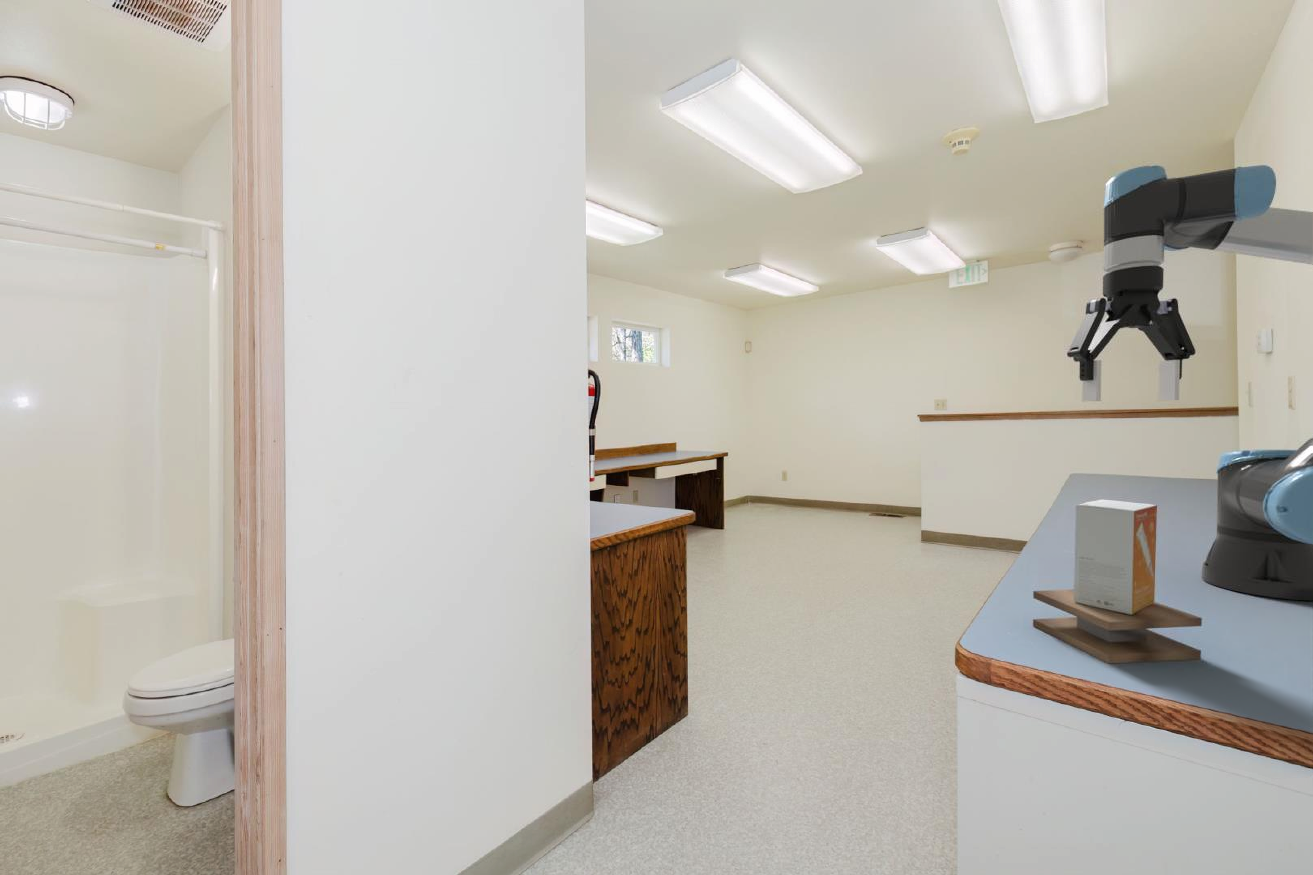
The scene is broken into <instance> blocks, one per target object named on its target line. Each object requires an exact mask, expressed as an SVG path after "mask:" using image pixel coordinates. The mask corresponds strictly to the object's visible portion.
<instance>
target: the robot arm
mask: <svg viewBox="0 0 1313 875" xmlns="http://www.w3.org/2000/svg"><path fill="white" fill-rule="evenodd" d="M1276 190H1277V177H1276V173H1275V171H1274V169H1273V168H1272V167H1271V166H1269V165H1266V164H1261V165H1260V164H1259V165H1250V166H1237V167H1235V168H1229V169H1224V170H1218V171H1211V172H1206V173H1205V172H1204V173H1199V174H1194V175H1193V174H1192V175H1187V176H1182V177H1180V176H1179V177H1170V178H1168V175H1167V174H1166V169H1165V167H1164V166H1162V165H1143V166H1142V165H1141V166H1137V167H1134V168H1129V169H1127V170H1124V171H1121V172H1119V173H1117V174H1115V175H1114V176H1112V177H1111V178H1110V179H1109V180H1108V181H1107V182H1106V184H1105V190H1104V191H1105V192H1104V201H1103V207H1102V210H1103V253H1102V254H1103V261H1102V263H1103V266H1102V268H1103V271H1104V272H1105V274H1104V275H1103V276H1102V296H1103V297H1101V298H1096V299H1092V300H1089V301H1087V302H1086V306H1085V315H1084V317H1083V319H1082V321H1081V323H1080V325H1079V327H1078V329H1077V331H1076V333H1075V335H1074V338H1073V339H1072V341H1071V343H1070V345H1069V347H1068V351H1067V352H1066V356H1067V358H1073V361H1074V362H1075V363H1079V376H1078V378H1079V380H1080V381H1081V382H1082V386H1081V387H1082V394H1081V396H1082V397H1081V398H1082V399H1081V400H1082V401H1081V402H1101V401H1102V400H1101V398H1102V359H1101V360H1100V359H1097V357H1098V356H1099V355H1100V354H1101V353H1102V351H1103V350H1104V349H1105V347H1107V345H1108V344H1109V342H1111V340H1112V339H1113V338H1114V337H1115V335H1116V334H1117V333H1118V332H1119V330H1120V329H1125V328H1128V329H1137V330H1139V331H1141V332H1143V333H1144V334H1145V336H1146V338H1148V339H1149V341H1150V342H1151V344H1152V345H1153V346H1154V347H1155V349H1156V350H1157V351H1158V352H1159V354H1160V355H1161V357H1162V358H1163V359H1164V360H1162V361H1161V360H1160V361H1159V363H1158V398H1157V399H1158V401H1160V402H1162V401H1179V400H1180V380H1182V377H1183V373H1182V372H1183V360H1188V359H1190V357H1191V356H1194V355H1195V354H1196V348H1195V345H1194V344H1193V342H1192V339H1191V337H1190V335H1189V333H1188V330H1187V328H1186V326H1185V324H1184V321H1183V319H1182V316H1181V314H1180V312H1179V302H1178V301H1179V300H1178V299H1177V298H1169V299H1164V300H1160V299H1159V297H1158V295H1159V293H1160V292H1161V291H1162V290H1163V288H1164V267H1162V266H1161V265H1162V264H1163V263H1164V262H1165V251H1170V252H1175V251H1182V250H1187V249H1190V248H1195V249H1202V250H1210V251H1216V252H1223V253H1230V254H1237V255H1245V256H1252V257H1257V258H1258V257H1259V258H1264V259H1265V258H1266V259H1273V260H1278V261H1285V262H1292V263H1300V264H1307V265H1312V266H1313V211H1306V210H1298V209H1290V208H1289V209H1287V208H1282V207H1281V208H1279V207H1273V206H1271V205H1272V203H1273V200H1274V198H1275V195H1276ZM1105 314H1106V315H1107V316H1106V317H1105ZM1104 317H1105V318H1104ZM1103 319H1104V320H1103ZM1217 466H1218V467H1217V468H1216V470H1215V471H1216V474H1217V490H1216V491H1217V493H1216V494H1217V499H1216V505H1217V506H1216V536H1215V540H1214V542H1213V543H1212V545H1211V548H1210V550H1209V551H1208V553H1207V556H1206V559H1205V561H1204V562H1203V563H1202V566H1201V579H1202V580H1203V581H1204V582H1206V583H1209V584H1210V585H1213V586H1217V587H1220V588H1224V589H1227V590H1231V591H1236V592H1240V593H1244V594H1250V595H1255V596H1256V595H1257V596H1261V597H1269V598H1277V599H1284V600H1294V601H1295V600H1296V601H1313V436H1312V437H1310V438H1309V439H1308V440H1306V441H1305V442H1304V443H1303V444H1302V445H1301V446H1300V447H1298V448H1297V449H1249V450H1248V449H1247V450H1245V449H1244V450H1232V451H1227V452H1224V453H1223V454H1221V455H1220V456H1219V459H1218V465H1217Z"/></svg>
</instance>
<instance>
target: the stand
mask: <svg viewBox="0 0 1313 875" xmlns="http://www.w3.org/2000/svg"><path fill="white" fill-rule="evenodd" d="M1032 596H1033V597H1032V598H1033V599H1035V600H1037V601H1039V602H1041V603H1044V604H1046V605H1049V606H1051V607H1053V608H1056V609H1057V610H1060V611H1063V612H1065V613H1068V615H1069V614H1070V615H1072V617H1054V618H1053V617H1051V618H1035V619H1034V618H1033V619H1032V627H1034V628H1036V629H1038V630H1039V631H1042V632H1044V633H1046V634H1048V635H1050V636H1052V637H1054V638H1056V639H1057V640H1060V641H1062V642H1064V643H1066V644H1068V645H1070V646H1072V647H1074V648H1077V649H1079V651H1083V652H1084V653H1087V654H1089V655H1091V656H1092V657H1094V658H1096V659H1098V660H1100V661H1103V662H1105V663H1107V664H1121V663H1144V662H1146V663H1147V662H1161V661H1164V662H1165V661H1179V660H1180V661H1184V660H1185V661H1186V660H1201V658H1202V650H1200V649H1198V648H1196V647H1193V646H1190V645H1188V644H1185V643H1183V642H1180V641H1178V640H1176V639H1172V638H1170V637H1168V636H1166V635H1163V634H1161V633H1157V632H1155V631H1152V630H1150V629H1169V628H1189V627H1202V623H1203V621H1202V619H1203V618H1202V617H1200V616H1197V615H1195V614H1191V613H1188V612H1186V611H1183V610H1180V609H1177V608H1173V607H1171V606H1168V605H1165V604H1161V603H1159V602H1156V601H1154V603H1153V604H1151V605H1149V606H1147V607H1145V608H1143V609H1141V610H1139V611H1137V612H1135V613H1134V614H1133V615H1131V614H1126V613H1121V612H1116V611H1111V610H1107V609H1103V608H1098V607H1094V606H1089V605H1085V604H1081V603H1077V602H1074V588H1073V589H1072V588H1071V589H1055V590H1054V589H1053V590H1051V589H1050V590H1048V589H1047V590H1033V595H1032ZM1073 616H1074V617H1073Z"/></svg>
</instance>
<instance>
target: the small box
mask: <svg viewBox="0 0 1313 875" xmlns="http://www.w3.org/2000/svg"><path fill="white" fill-rule="evenodd" d="M1157 515H1158V505H1157V504H1150V503H1143V502H1142V503H1139V502H1131V501H1122V500H1114V499H1113V500H1112V499H1098V500H1093V501H1092V500H1090V501H1086V502H1083V503H1080V504H1075V519H1074V520H1075V523H1074V524H1075V526H1074V528H1075V530H1074V580H1073V582H1074V583H1073V589H1074V602H1077V603H1081V604H1085V605H1089V606H1094V607H1098V608H1103V609H1107V610H1111V611H1116V612H1121V613H1126V614H1131V615H1133V614H1134V613H1135V612H1137V611H1139V610H1141V609H1143V608H1145V607H1147V606H1149V605H1151V604H1153V603H1154V602H1155V594H1156V592H1155V589H1156V583H1155V582H1156V557H1157V556H1156V555H1157V554H1156V552H1157V551H1156V550H1157V523H1158V522H1157V518H1158V516H1157Z"/></svg>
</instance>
